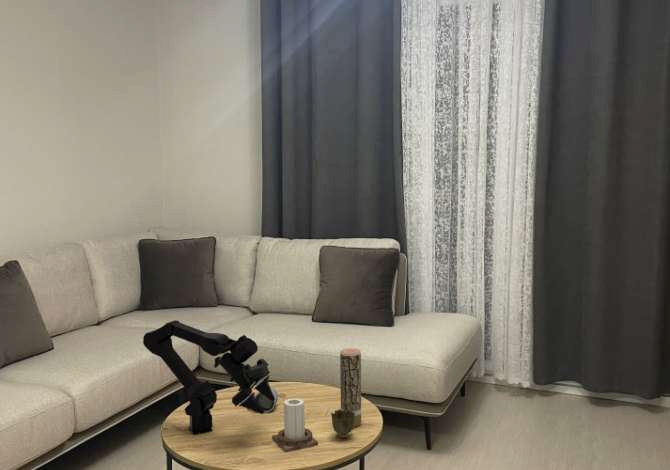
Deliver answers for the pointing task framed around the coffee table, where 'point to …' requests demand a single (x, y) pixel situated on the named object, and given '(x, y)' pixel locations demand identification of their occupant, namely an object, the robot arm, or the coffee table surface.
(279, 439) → the holder
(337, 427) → the cup
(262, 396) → the ceramic mug
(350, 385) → the paper tube
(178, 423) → the coffee table surface
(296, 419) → the tube
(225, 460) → the coffee table surface
